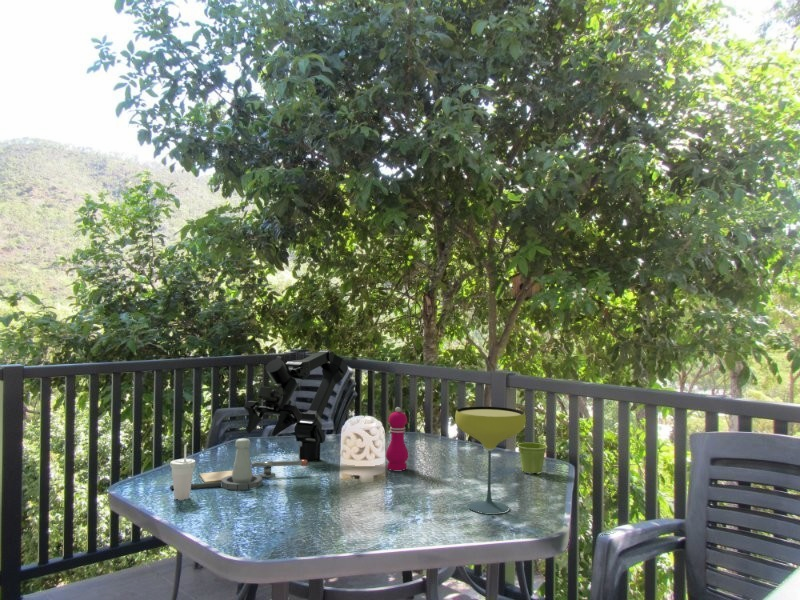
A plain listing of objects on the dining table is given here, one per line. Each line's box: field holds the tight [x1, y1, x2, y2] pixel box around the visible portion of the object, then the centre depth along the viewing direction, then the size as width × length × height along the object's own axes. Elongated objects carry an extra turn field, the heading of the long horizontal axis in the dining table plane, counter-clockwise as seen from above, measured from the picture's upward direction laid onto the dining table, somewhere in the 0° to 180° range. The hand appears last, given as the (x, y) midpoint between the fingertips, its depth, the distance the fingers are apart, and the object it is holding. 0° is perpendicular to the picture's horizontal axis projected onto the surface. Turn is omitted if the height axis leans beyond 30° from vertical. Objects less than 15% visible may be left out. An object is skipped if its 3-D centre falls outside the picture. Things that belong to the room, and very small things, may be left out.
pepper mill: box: [385, 406, 409, 470], centre depth 202 cm, size 7×7×20 cm
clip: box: [251, 459, 308, 469], centre depth 191 cm, size 17×3×2 cm, turn 103°
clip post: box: [258, 467, 276, 479], centre depth 190 cm, size 5×5×3 cm
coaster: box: [198, 469, 233, 483], centre depth 187 cm, size 10×10×1 cm
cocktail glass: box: [454, 406, 527, 513], centre depth 162 cm, size 18×18×25 cm
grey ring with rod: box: [169, 474, 263, 491], centre depth 178 cm, size 25×11×2 cm, turn 107°
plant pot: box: [516, 442, 548, 473], centre depth 200 cm, size 9×9×9 cm
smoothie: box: [169, 444, 196, 501], centre depth 166 cm, size 6×6×14 cm
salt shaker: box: [232, 437, 253, 483], centre depth 180 cm, size 6×6×13 cm
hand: (260, 434), depth 187 cm, fingers open, 9 cm apart
